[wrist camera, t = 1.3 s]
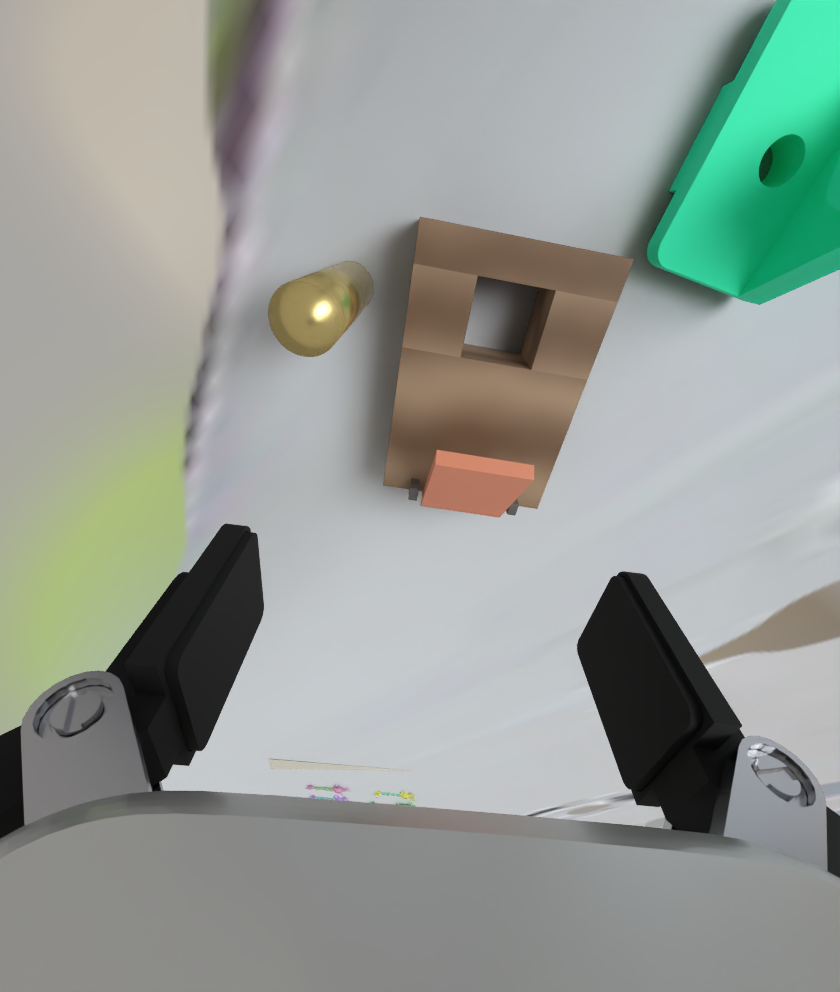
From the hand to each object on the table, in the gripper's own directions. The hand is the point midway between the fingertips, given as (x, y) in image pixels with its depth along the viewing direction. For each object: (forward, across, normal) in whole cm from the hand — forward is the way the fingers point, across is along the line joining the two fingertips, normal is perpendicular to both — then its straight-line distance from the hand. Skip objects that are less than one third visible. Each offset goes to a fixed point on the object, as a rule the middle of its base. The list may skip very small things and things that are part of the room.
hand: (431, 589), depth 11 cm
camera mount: (+23, -17, -14) cm, 31 cm away
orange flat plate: (+16, -4, +6) cm, 18 cm away
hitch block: (+23, -4, 0) cm, 23 cm away
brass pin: (+23, +6, -4) cm, 24 cm away
